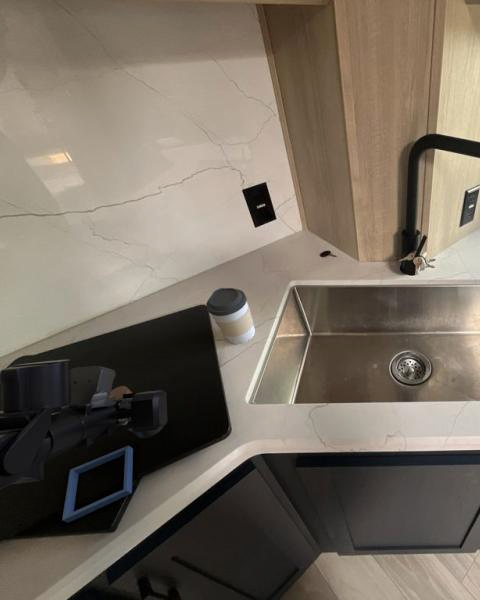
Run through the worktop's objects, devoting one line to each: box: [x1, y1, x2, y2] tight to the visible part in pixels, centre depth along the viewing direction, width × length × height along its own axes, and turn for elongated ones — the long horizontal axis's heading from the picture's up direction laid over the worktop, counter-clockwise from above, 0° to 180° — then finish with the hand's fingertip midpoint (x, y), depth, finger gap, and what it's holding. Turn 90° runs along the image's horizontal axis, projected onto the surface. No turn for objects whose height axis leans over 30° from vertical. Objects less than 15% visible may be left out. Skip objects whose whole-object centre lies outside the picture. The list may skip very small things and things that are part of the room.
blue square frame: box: [61, 445, 134, 524], centre depth 59 cm, size 9×9×2 cm
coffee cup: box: [205, 287, 256, 345], centre depth 83 cm, size 9×9×15 cm
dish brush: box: [108, 385, 164, 439], centre depth 61 cm, size 6×6×12 cm
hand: (137, 402), depth 61 cm, fingers closed on dish brush, 3 cm apart
